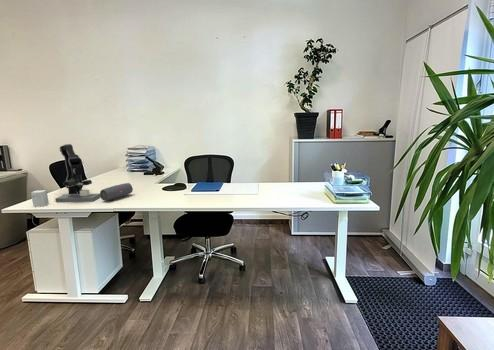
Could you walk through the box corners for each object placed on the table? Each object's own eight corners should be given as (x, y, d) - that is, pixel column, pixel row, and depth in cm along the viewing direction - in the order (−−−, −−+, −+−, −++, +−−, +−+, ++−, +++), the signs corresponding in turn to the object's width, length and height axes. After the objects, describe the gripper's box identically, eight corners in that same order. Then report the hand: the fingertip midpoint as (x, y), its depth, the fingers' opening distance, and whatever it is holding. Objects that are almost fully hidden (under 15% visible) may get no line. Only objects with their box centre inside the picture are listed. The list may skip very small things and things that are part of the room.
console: (65, 197, 239) (65, 194, 238) (101, 197, 238) (100, 193, 237) (55, 202, 227) (55, 198, 227) (92, 201, 226) (92, 197, 225)
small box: (49, 204, 224) (46, 189, 221) (44, 206, 218) (42, 191, 216) (38, 204, 223) (35, 190, 221) (33, 206, 218) (30, 192, 216)
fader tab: (83, 194, 234) (82, 189, 233) (89, 194, 233) (89, 189, 233) (80, 196, 230) (79, 190, 229) (86, 196, 229) (86, 190, 229)
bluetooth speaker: (108, 203, 221) (106, 189, 219) (100, 201, 226) (98, 188, 224) (133, 195, 240) (132, 182, 238) (125, 194, 245) (124, 181, 243)
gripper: (57, 176, 221) (60, 197, 224) (82, 175, 220) (85, 196, 223) (66, 172, 232) (69, 193, 235) (90, 172, 231) (93, 192, 234)
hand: (79, 193), depth 231 cm, fingers closed
